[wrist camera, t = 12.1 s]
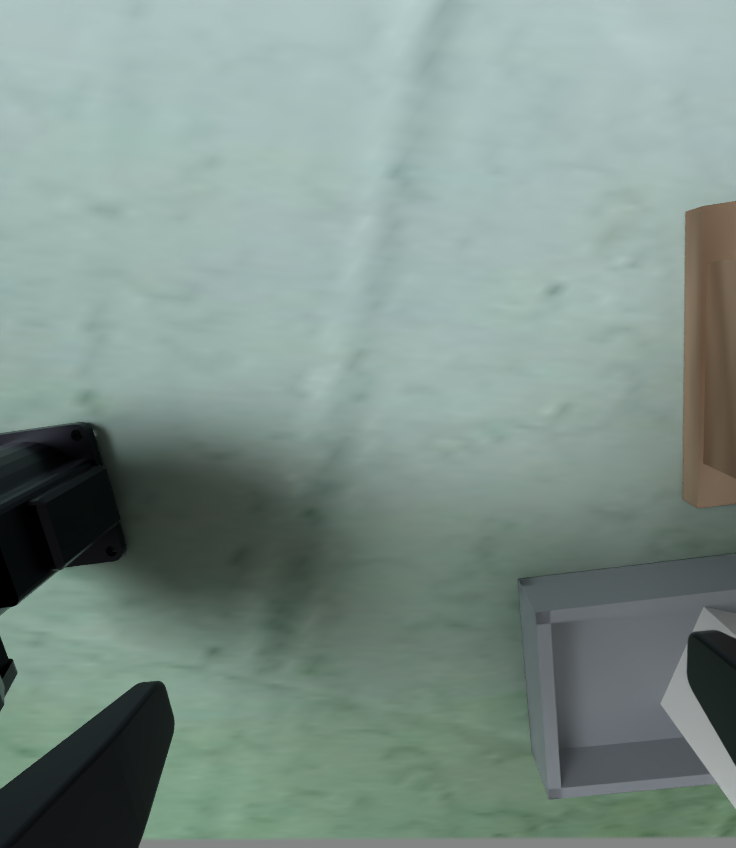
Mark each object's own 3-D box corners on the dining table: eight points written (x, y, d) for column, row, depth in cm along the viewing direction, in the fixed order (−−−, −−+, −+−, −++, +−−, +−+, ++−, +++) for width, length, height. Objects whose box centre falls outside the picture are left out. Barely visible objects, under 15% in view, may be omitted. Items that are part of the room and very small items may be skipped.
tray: (531, 750, 24) (548, 799, 22) (517, 579, 22) (535, 612, 20) (854, 718, 24) (909, 765, 21) (875, 536, 21) (939, 566, 19)
